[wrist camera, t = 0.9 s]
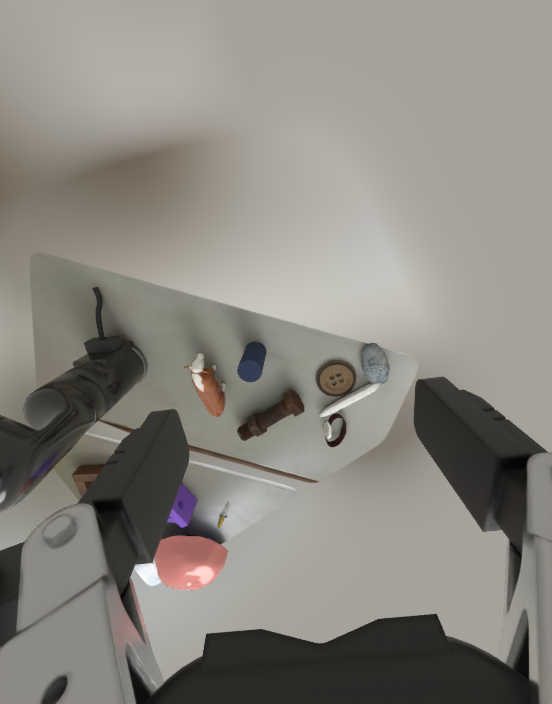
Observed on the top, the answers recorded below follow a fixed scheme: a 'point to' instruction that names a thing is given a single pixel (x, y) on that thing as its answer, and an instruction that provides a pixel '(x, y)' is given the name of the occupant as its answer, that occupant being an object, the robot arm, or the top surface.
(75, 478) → the base frame
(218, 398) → the bull figurine
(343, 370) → the button
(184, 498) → the bracket
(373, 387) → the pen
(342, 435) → the watch
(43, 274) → the top surface
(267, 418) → the bolt
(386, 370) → the fossil
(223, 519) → the dagger
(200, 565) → the cell model
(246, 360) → the pad post
